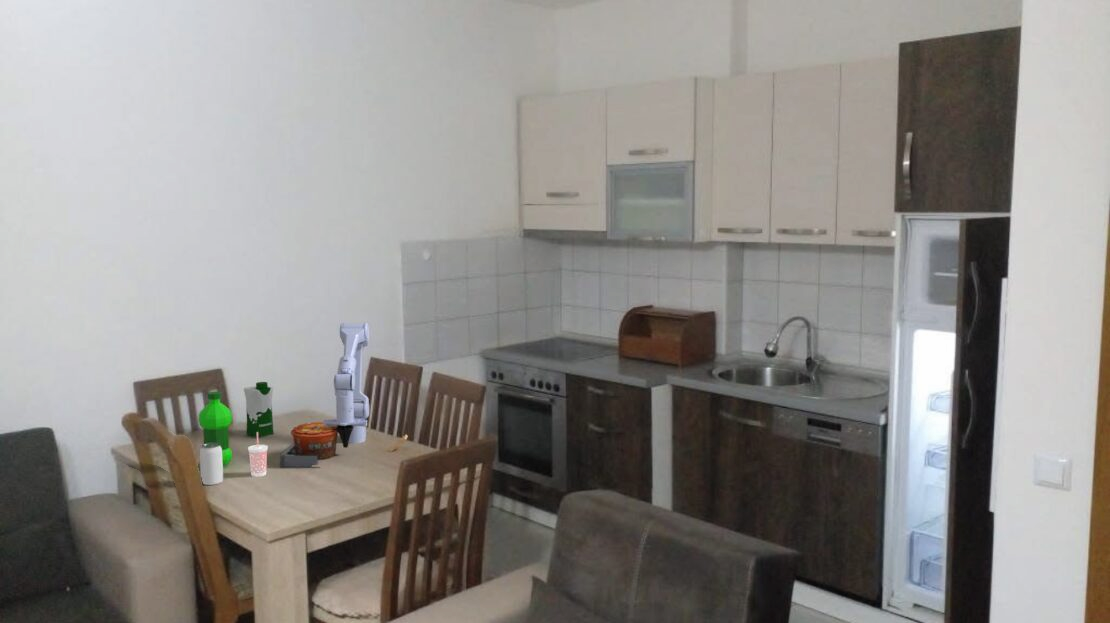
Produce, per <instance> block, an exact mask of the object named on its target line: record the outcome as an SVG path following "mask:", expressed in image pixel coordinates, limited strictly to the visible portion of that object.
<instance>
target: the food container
mask: <svg viewBox="0 0 1110 623" xmlns="http://www.w3.org/2000/svg"><path fill="white" fill-rule="evenodd" d="M290 434H291V436H292V438H293V442H294V445H295V452H296V455H318V461H324V460H329V459H332V458H333V457H335V456H336V452H337V451H336V450H337V443H338V435H339V433H338V432H337V426H327V427H323V421H322V422H320V421H318V422H314V421H313V422H311V423H302V424H298V425H297V426H294V427H293V428H292V429H291V431H290Z"/></svg>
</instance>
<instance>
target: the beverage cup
mask: <svg viewBox="0 0 1110 623" xmlns="http://www.w3.org/2000/svg"><path fill="white" fill-rule="evenodd" d="M268 449H269V445H266V444H259V438H258V432H257V437H256V444H255V445H250V446H248V447H247V451H248V454H249V455H248V456H249V466H250V468H249V469H250V476H252V477H257V478H258V477H263V476H266V475H267V464H268V463H267V461H268V460H267V459H268V458H267V456H268Z"/></svg>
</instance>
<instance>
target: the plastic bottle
mask: <svg viewBox="0 0 1110 623" xmlns="http://www.w3.org/2000/svg"><path fill="white" fill-rule="evenodd" d="M221 399H222V391H219V390H217V391H215V390H213V391H209V392H207V400H209V403H208V404H206V405H205V407H203V408H202V409H201V410H200V411H199V414H198V423H199V426H200V427H201V428H202V429H203V430H202V431H203V444H206V443H220V446H221V448H222V460H223V469H224V468H226V466H228V464H230V462H231V461H232V458H233V451H232V449H231V447H230V440H229V426H230V425H231V424H232V421H233V418H232V417H233V415H232V411H231V410H230V408H228V407H227V406H226V405H225V404H224V403H222V402H221Z"/></svg>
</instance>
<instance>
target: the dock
mask: <svg viewBox="0 0 1110 623" xmlns="http://www.w3.org/2000/svg"><path fill="white" fill-rule="evenodd" d="M279 460H280V462H279V464H280V466H279V467H280V469H282V468H287V469H289V468H292V469H294V468H295V469H296V468H297V469H299V468H301V469H302V468H303V469H304V468H306V469H307V468H309V469H310V468H311V469H312V468H314V469H315V468H316V469H317V468H318V466H317V465H319V460H318V455H296V452H295V445H294V441H293V442H292V443H290V445H289V446H288V447H287V448H286V449H285V450H283V452H282V453H281V454H280V455H279ZM293 467H294V468H293Z"/></svg>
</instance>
